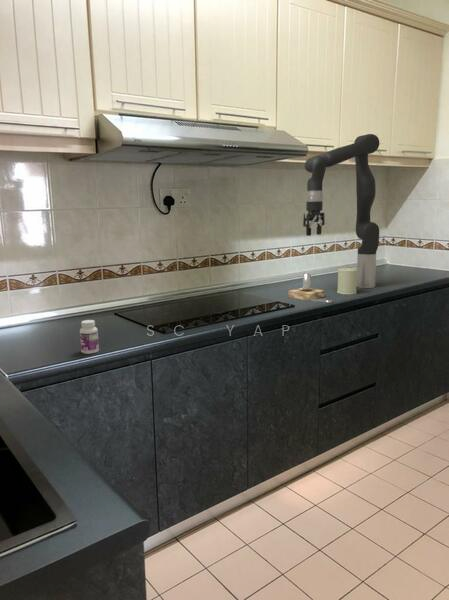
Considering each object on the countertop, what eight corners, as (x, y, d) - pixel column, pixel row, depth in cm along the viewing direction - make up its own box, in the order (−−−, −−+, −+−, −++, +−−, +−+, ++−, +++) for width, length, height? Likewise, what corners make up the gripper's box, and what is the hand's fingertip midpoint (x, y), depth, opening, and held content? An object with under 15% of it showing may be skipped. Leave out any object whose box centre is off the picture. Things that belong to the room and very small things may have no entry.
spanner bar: (309, 300, 219) (309, 298, 219) (313, 299, 221) (313, 297, 221) (329, 303, 212) (329, 301, 212) (333, 302, 214) (333, 300, 214)
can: (357, 294, 231) (358, 269, 228) (337, 294, 232) (338, 269, 230) (356, 291, 239) (356, 267, 237) (336, 290, 241) (337, 267, 239)
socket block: (303, 293, 236) (303, 287, 235) (324, 296, 228) (324, 290, 227) (288, 297, 227) (288, 290, 227) (309, 300, 219) (309, 294, 219)
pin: (305, 295, 230) (306, 272, 228) (311, 296, 228) (312, 273, 225) (301, 297, 228) (301, 273, 225) (307, 297, 225) (307, 274, 223)
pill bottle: (77, 351, 150) (75, 321, 148) (92, 347, 154) (90, 318, 152) (87, 355, 146) (85, 324, 144) (102, 351, 150) (100, 320, 148)
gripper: (316, 200, 237) (315, 233, 240) (299, 200, 227) (298, 235, 230) (329, 200, 231) (328, 234, 235) (312, 200, 221) (311, 236, 225)
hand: (313, 235), depth 232 cm, fingers open, 8 cm apart
